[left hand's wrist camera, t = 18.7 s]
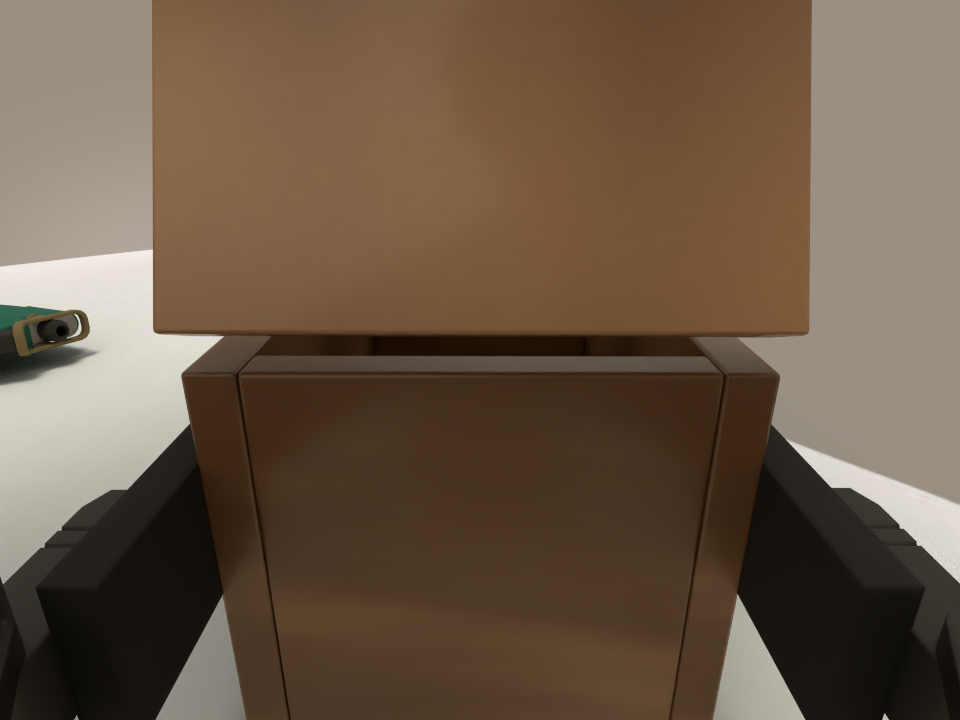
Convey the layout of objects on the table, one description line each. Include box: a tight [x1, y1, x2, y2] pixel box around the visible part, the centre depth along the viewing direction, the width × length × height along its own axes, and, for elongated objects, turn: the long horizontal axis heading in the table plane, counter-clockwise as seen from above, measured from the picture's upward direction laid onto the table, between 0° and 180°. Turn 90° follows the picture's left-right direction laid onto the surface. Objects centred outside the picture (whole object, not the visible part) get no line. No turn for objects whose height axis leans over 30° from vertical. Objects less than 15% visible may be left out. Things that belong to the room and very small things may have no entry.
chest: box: [181, 336, 780, 720], centre depth 17 cm, size 13×9×10 cm
